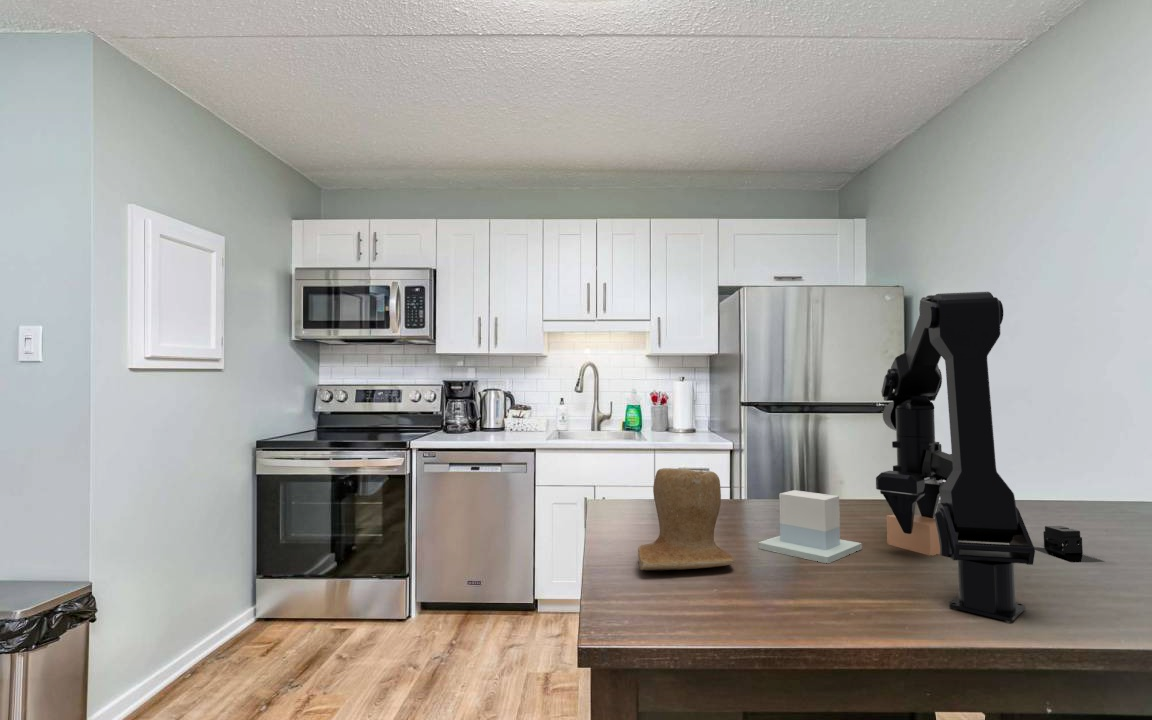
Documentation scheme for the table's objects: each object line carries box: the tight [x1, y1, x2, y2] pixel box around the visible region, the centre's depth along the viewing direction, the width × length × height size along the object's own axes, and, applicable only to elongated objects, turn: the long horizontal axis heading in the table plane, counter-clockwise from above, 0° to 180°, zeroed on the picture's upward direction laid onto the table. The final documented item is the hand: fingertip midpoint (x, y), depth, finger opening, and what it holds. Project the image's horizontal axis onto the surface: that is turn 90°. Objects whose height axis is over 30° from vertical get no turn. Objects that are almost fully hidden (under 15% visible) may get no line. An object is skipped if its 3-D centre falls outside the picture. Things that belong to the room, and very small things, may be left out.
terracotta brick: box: [886, 514, 940, 556], centre depth 102 cm, size 5×8×5 cm, turn 24°
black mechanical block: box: [1033, 525, 1106, 563], centre depth 98 cm, size 12×7×5 cm, turn 2°
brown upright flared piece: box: [637, 467, 735, 571], centre depth 94 cm, size 15×12×15 cm
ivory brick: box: [778, 489, 841, 532], centre depth 102 cm, size 5×8×5 cm, turn 42°
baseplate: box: [757, 522, 863, 564], centre depth 102 cm, size 12×12×4 cm
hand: (918, 528), depth 102 cm, fingers open, 9 cm apart
